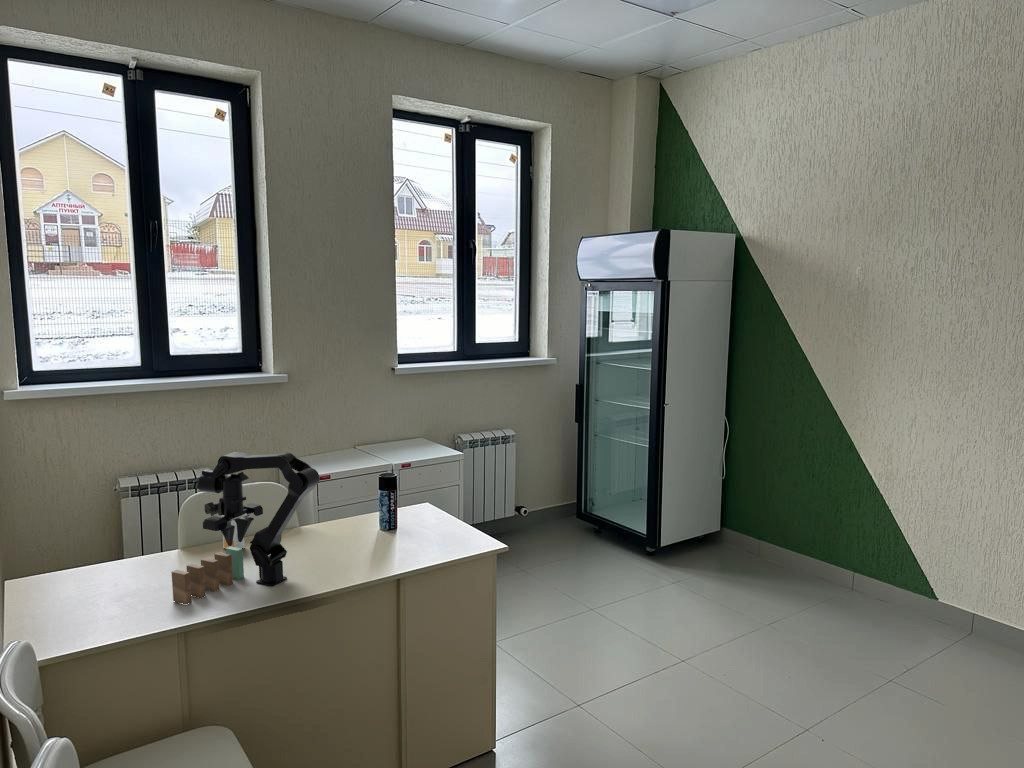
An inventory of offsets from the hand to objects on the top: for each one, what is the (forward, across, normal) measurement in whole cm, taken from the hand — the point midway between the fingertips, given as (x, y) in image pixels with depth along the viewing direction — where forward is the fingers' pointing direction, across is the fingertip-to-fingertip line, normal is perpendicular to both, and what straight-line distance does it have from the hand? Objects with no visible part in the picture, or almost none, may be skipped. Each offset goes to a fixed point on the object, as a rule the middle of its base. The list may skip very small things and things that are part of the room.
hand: (235, 543), depth 215 cm
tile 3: (+11, +10, 0) cm, 15 cm away
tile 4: (+11, +15, 0) cm, 18 cm away
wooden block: (+11, +5, 0) cm, 12 cm away
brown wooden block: (+11, +20, 0) cm, 23 cm away
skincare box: (+11, -18, -20) cm, 29 cm away
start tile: (+11, 0, 0) cm, 11 cm away
